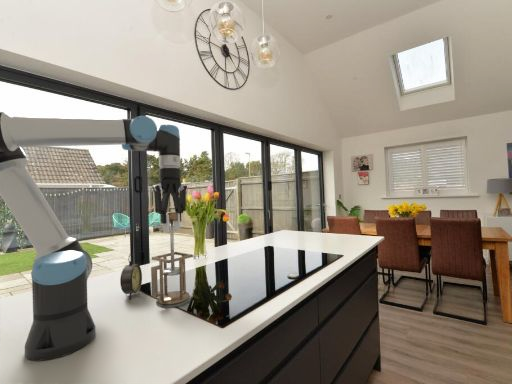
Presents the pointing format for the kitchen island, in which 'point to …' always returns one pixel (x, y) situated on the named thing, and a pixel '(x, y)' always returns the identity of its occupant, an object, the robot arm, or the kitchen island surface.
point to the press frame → (171, 297)
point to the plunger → (172, 247)
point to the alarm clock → (131, 278)
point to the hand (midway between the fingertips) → (171, 231)
